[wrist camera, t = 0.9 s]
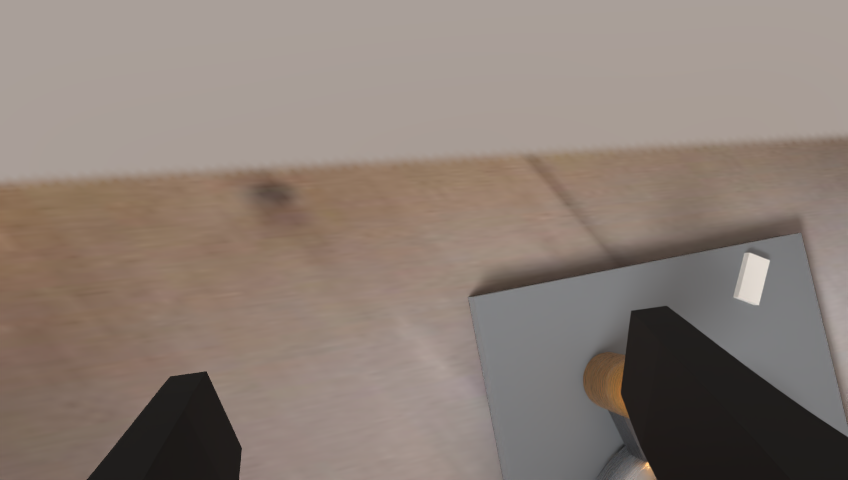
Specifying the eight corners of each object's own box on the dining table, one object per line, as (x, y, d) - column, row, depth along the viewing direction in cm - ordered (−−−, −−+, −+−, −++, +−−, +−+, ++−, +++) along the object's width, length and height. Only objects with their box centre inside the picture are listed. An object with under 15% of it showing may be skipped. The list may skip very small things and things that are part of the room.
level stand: (869, 595, 24) (925, 627, 22) (546, 702, 22) (571, 750, 20) (783, 235, 26) (827, 228, 23) (468, 297, 23) (482, 296, 21)
